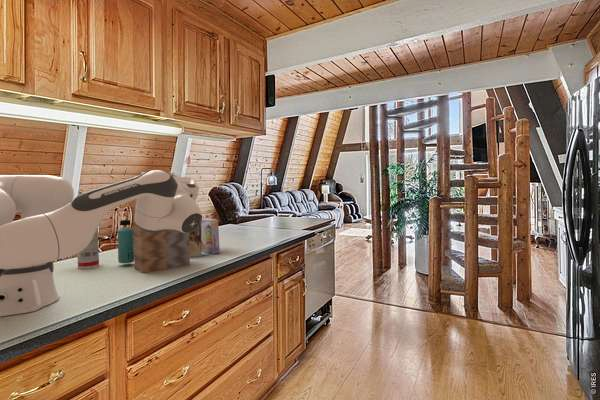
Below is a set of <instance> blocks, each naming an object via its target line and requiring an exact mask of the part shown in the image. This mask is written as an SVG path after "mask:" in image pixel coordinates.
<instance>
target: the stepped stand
mask: <svg viewBox="0 0 600 400" xmlns="http://www.w3.org/2000/svg"><path fill="white" fill-rule="evenodd" d="M136 202H137V201H135V202H132V222H133V227H132V229H133V237H134V262H133V263H134V266H133V267H134V269H135V270H137V271H138V272H139V273H142V274H146V273H150V272H151V273H152V272H156V271H157V272H158V271H162V270H168V269H174V268H179V267H180V268H181V267H184V266H185V267H186V266H190V265H191V264H190V263H191V259H190V258H191V257H190V246H189V233H182V232H180V231H177V230H172V229H168V230H165V231H162V232H156V233H151V232H147V231H145V230H142V229H141V228H139V227H138V226H137V225H136V224H135V222H134V215H135V207H136Z"/></svg>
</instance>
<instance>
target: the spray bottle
mask: <svg viewBox="0 0 600 400" xmlns="http://www.w3.org/2000/svg"><path fill="white" fill-rule="evenodd" d="M98 228H99V227H98ZM98 228H97V230H96V232H95V235H94V237H93V239H92V240H91V242H90V243H89V244H88V246H87V247H86V248H85V249H83V250H82V251H80V252H78V253H76V255H77V268H78V269H79V270H80V269H81V270H89V269H94V268H97V267H100V254H99V229H98Z"/></svg>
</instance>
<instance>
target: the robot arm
mask: <svg viewBox="0 0 600 400" xmlns="http://www.w3.org/2000/svg"><path fill="white" fill-rule="evenodd" d="M73 187H74V186H73V185H72V183H71V182H70V181H69V180H68V179H66V178H64V177H60V176H55V175H50V174H0V317H5V316H6V317H7V316H14V315H19V314H25V313H32V312H36V311H38V310H40V309H41V308H44V307H46V306H48V305H51V304H53V303H55V302H57V301H58V300H59V299H60V296H59V293H58V291H57V289H56V284H55V280H54V275H53V274H54V273H53V272H54V270H55V267H54V265H55V264H54V261H58V260H62V259H65V258H69V257H71V256H74V255H77V253H78V252H80V251H82V250H83V249H85V248H86V247H87V246H88V244H89V243H90V242H91V240H92V239H93V237H94V235H95V232H96V230H97V228H99V226H100V224H101V223H102V221H103V219H104V218H105V217H106V215H107V214H108V213H109V212H110V211H112V209H114V208H116V207H118V206H121V205H123V204H127V203H130V202H133V201H135V200H136V201H135V202H136V207H135V215H134V222H135V224H136V225H137V226H138V227H139V228H141V229H142V230H145V231H147V232H151V233H156V232H162V231H165V230H168V229H172V230H177V231H180V232H182V233H190V232H193V231H194V230H196V229H197V228H198V227H199V225H200V224H201V221H202V218H203V213H202V210H201V209H200V206H199V205H198V204H197V202H196V200H197V198H198V194H199V190H200V186H199V185H198V184H197V181H196V180H195V179H194V178H193V177H191V176H179V175H177V174H175V172H173V171H172V172H168V171H167V170H163V169H157V168H156V169H151V170H147V171H141V173H140V174H139V175H137V176H134V177H131V178H127V179H125V180H124V179H123V180H121V181H118V182H114V183H111V184H107V185H104V186H100V187H98V188H95V189H91V190H89V191H85V192H82V193H80V194H79V195H77V196H76V197H75V198H74V196H75V190H74V188H73ZM17 213H21V215H20V219H17V220H15V216H16V214H17Z"/></svg>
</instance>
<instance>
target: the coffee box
mask: <svg viewBox="0 0 600 400" xmlns="http://www.w3.org/2000/svg"><path fill="white" fill-rule="evenodd" d="M189 246H190V258H196V257H198V258H199V257H202V256H203V252H202V246H201V224H200V225H199V227H198V228H197V229H196V230H194V231H193V232H190V233H189Z"/></svg>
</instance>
